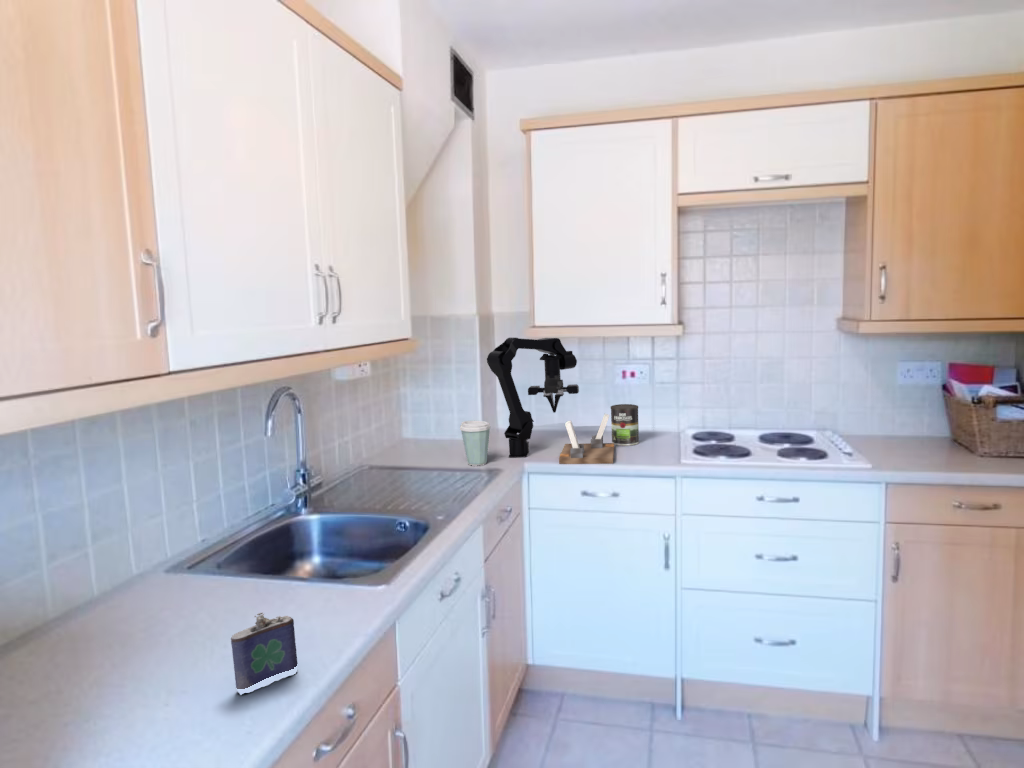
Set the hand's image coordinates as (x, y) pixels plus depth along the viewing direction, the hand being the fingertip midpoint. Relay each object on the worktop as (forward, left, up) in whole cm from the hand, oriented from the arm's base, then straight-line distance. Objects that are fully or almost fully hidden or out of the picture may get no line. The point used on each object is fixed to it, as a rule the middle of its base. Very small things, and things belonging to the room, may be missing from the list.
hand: (554, 412), depth 246 cm
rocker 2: (+16, -9, -11) cm, 21 cm away
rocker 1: (+10, -23, -11) cm, 27 cm away
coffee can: (+26, +4, -13) cm, 29 cm away
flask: (-27, -157, -13) cm, 160 cm away
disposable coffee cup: (-25, -26, -13) cm, 38 cm away
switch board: (+13, -16, -13) cm, 24 cm away
